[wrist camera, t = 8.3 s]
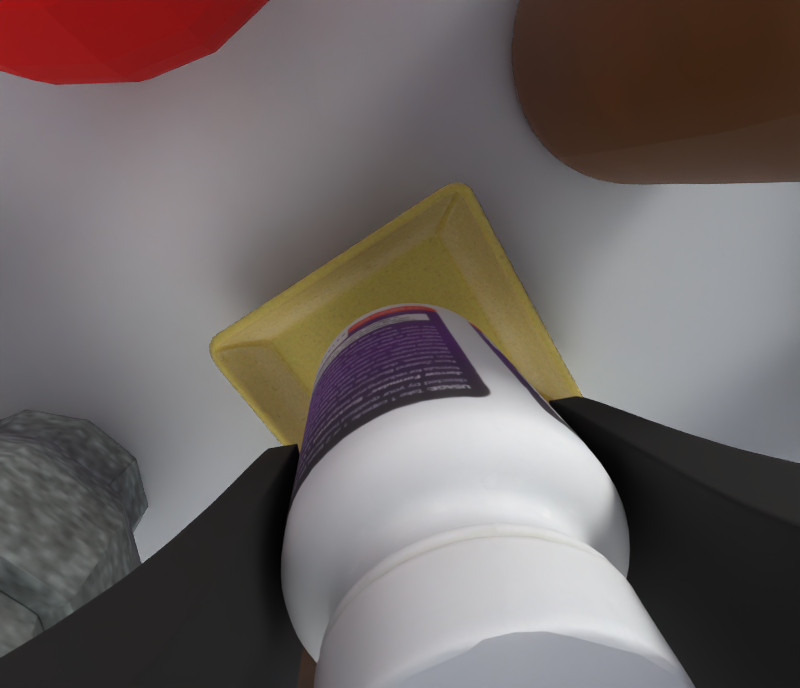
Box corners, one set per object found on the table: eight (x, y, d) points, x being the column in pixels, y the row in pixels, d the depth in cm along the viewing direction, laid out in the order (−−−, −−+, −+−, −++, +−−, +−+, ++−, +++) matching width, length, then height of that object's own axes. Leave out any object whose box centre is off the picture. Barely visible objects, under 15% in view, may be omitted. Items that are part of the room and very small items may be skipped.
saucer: (568, 392, 17) (596, 419, 15) (366, 511, 18) (367, 551, 16) (449, 175, 15) (464, 173, 13) (218, 325, 15) (198, 345, 13)
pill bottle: (292, 447, 14) (171, 933, 5) (346, 273, 13) (323, 490, 3) (461, 489, 15) (631, 963, 6) (529, 332, 14) (894, 626, 4)
